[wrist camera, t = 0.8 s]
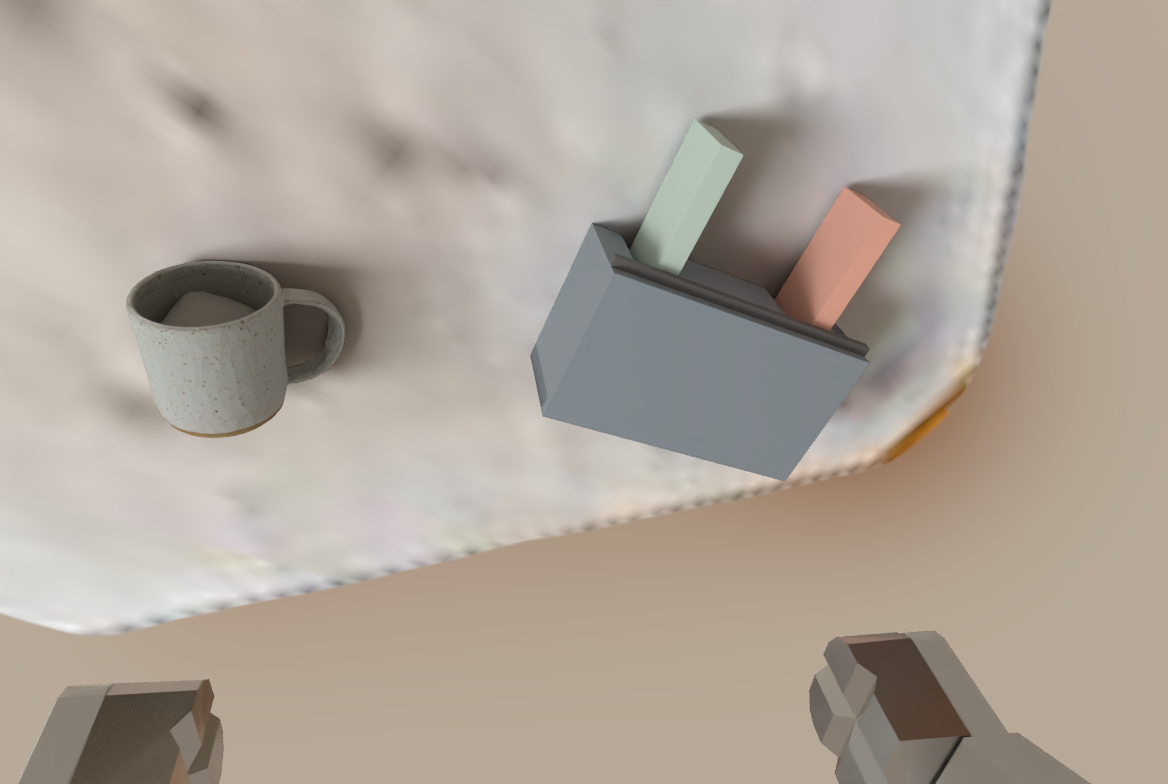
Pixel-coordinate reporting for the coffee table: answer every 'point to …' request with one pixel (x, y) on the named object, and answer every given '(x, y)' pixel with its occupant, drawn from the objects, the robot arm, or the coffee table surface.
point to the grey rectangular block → (689, 361)
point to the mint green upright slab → (686, 199)
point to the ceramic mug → (221, 344)
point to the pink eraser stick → (836, 260)
